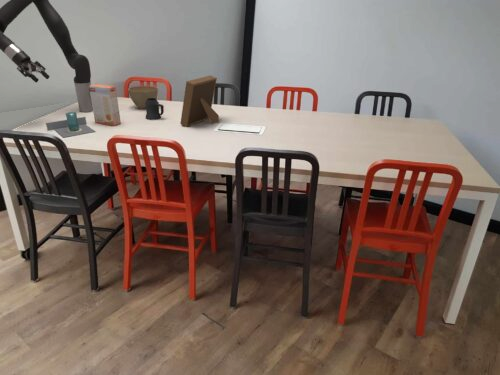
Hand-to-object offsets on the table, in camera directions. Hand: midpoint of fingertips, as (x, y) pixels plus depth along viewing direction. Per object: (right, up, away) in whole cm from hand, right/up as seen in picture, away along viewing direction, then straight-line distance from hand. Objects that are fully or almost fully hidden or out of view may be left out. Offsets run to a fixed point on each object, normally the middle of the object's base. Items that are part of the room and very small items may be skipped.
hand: (43, 79), depth 195 cm
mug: (+52, -15, +27) cm, 60 cm away
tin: (+15, -26, +3) cm, 30 cm away
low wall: (+9, -23, +8) cm, 26 cm away
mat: (+15, -26, +3) cm, 31 cm away
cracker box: (+28, -20, +16) cm, 38 cm away
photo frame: (+81, -20, +20) cm, 85 cm away
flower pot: (+40, -4, +48) cm, 62 cm away
